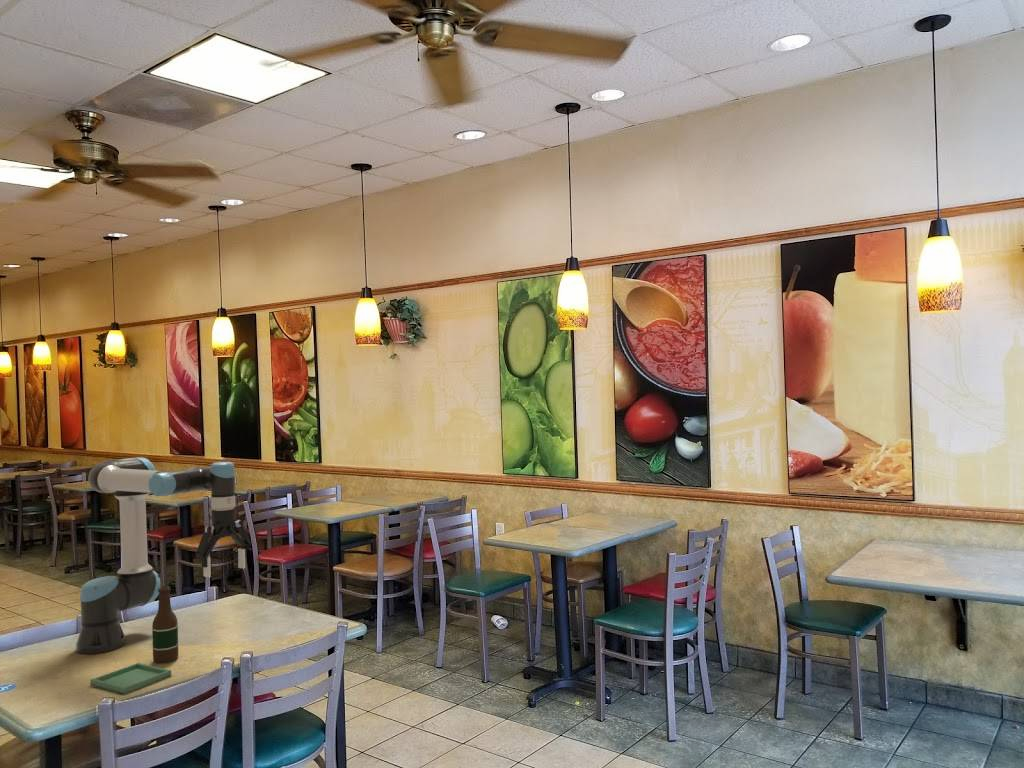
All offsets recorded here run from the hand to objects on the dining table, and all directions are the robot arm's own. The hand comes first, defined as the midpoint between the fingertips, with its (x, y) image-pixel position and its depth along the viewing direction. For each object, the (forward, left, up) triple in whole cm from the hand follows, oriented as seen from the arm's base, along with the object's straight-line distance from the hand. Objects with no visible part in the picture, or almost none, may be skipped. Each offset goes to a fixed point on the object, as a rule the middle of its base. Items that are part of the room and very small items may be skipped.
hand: (224, 572), depth 259 cm
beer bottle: (-15, -12, -28) cm, 34 cm away
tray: (-9, -29, -28) cm, 41 cm away
